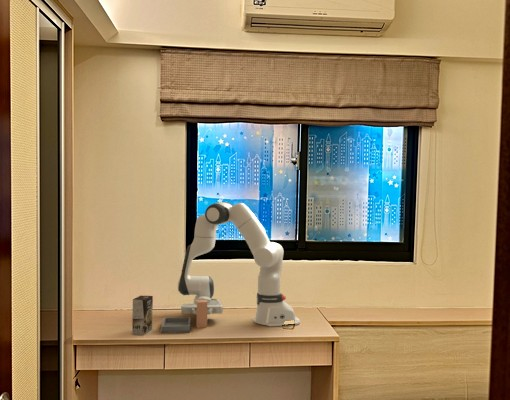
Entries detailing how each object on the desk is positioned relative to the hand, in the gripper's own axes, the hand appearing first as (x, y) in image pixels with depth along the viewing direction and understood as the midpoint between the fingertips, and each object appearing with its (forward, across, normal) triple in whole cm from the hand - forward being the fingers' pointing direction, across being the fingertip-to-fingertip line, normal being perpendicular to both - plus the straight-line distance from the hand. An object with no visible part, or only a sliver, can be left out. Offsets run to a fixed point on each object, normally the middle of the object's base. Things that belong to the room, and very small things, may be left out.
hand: (202, 312), depth 250 cm
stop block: (-1, 0, +6) cm, 7 cm away
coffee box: (+8, -27, +7) cm, 29 cm away
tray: (+2, -12, +6) cm, 14 cm away
